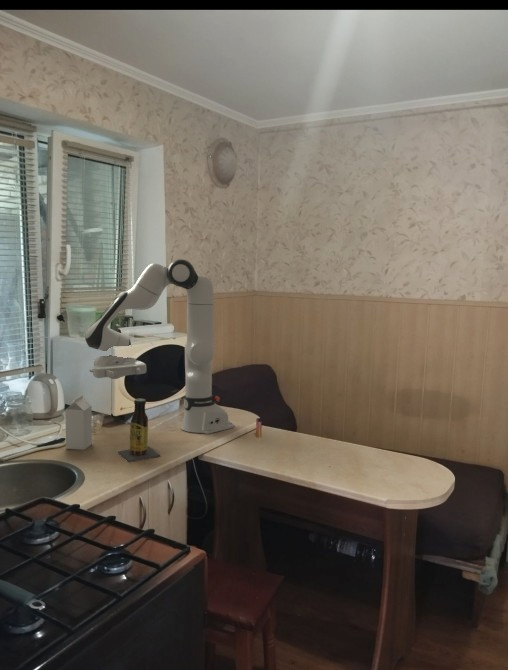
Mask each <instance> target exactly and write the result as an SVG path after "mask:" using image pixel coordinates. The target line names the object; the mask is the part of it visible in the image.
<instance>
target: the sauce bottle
mask: <svg viewBox="0 0 508 670" xmlns="http://www.w3.org/2000/svg"><path fill="white" fill-rule="evenodd" d="M133 403H134V409H133V410H134V411H133V414H132V417H131V419H130V424H129V425H130V427H129V430H130V431H129V449H130V453H131V454H133V455H142V454H145V453H146V452H147V446H148V435H149V434H148V433H149V418H148V417H149V416H148V415H147V413H146V404H147V399H145V398H140V397H139V398H135V399H134V401H133Z"/></svg>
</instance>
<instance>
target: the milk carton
mask: <svg viewBox="0 0 508 670" xmlns="http://www.w3.org/2000/svg"><path fill="white" fill-rule="evenodd" d="M69 404H70V405H69V406H68V407H67V408H65V410H64V411H65V449H66V450H80V451H82V450H83V451H86V449H88V448H89V447H90V446H91V445H92V443H93V438H92V437H93V435H92V434H93V432H92V431H93V427H92V426H93V423H92V417H93V416H92V412H93V411H92V405H91V404H90V403H89V402H88V401H87V400H86V399H84V396H83V394H81V395H80V396H77V397H76V398H75V399H73V400H71V401H70V402H69Z"/></svg>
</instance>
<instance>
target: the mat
mask: <svg viewBox="0 0 508 670" xmlns="http://www.w3.org/2000/svg"><path fill="white" fill-rule="evenodd" d="M117 455H121V456H120V457H121V458H123V459H124V460H125V459H126V460H127V461H126V460H125V461H126V462H128V463H133V462H136V461H137V460H138V461H142V460H143V459H144V460H148V459H154V458H160V457H161V454H160V453H159V452H158V451H156V450H155V449H153V448H152V447H150V446H149V445H147V452H146V453H145V454H142V455H133V454H131V453H130V448H128V449H122V450H117ZM144 460H143V461H144ZM132 461H133V462H132ZM138 461H137V462H138Z"/></svg>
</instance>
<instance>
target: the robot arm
mask: <svg viewBox="0 0 508 670" xmlns="http://www.w3.org/2000/svg"><path fill="white" fill-rule="evenodd" d="M170 285H174V286H175V287H179V288H183V289H185V291H186V295H187V296H186V297H187V298H186V300H187V301H186V342H185V344H184V369H185V372H184V373H185V387H184V389H185V395H184V398H183V407H184V411H183V420H182V423H181V426H180V428H181V430H183V431H185V432H188V433H197V434H198V433H199V434H206V435H207V434H208V435H209V434H213V433H216V432H220V431H225V430H228V429H233V428H234V423H233V422H231V421H230V420H229V416H228V412H227V411H226V410H225V409H223V408H222V407H221V406H220V405H218V404H217V403H216V402H218V403H219V402H220V397H219V396H218V395H213V394H212V393H213V390H212V389H213V388H212V387H213V386H212V385H213V376H212V375H213V373H212V360H213V359H214V356H215V340H214V339H215V332H214V331H215V330H214V329H215V328H214V314H215V312H214V310H215V305H214V304H215V296H214V295H215V294H214V293H215V292H214V287H213V282H212V280H211V279H209V278H207V277H205V276H200V275H198V274H197V272H196V270H195V268H194V266H193V264H192V263H191V262H190V261H188V260H186V259H183V258H178V259H175V260H173V261H172V262H171V263H170V264H169V265H166V266H163V265H161V264H159V263H151V264H148V265H147V267H146V268H145V269H144V270H143V272H142V273H141V274H140V276H139V277H138V279H137V280H136V281H135V283H134V285H133V286H132V287H130V288H129V289H128V290H126V291H121V292H120V293H119V294H118V295H117V296H116V297H115V298H114V299H113V300H112V301H111V303H110V304H109V305H108V307H107V308H106V309H105V310H104V311H103V312H102V314H101V315H100V316H99V317H98V318H97V319H96V321H94V322H93V323H92V324H91V326H90V327H89V328H88V329H87V331H86V333H85V336H84V340H85V342H86V344H87V347H89V348H91V349H95V350H98V351H100V352H102V351H107V350H108V349H109V348H111V347H113V346H129V345H131V346H132V342H131V338H130V337H129V336H127V335H126V334H123V333H121V332H119V331H116V330H114V329H112V328H109V326H110V324H111V323H112V322H113V321H114V319H115V318H117V316H118V314H119V313H120V312H123V311H124V310H139V311H143V310H149V309H151V308H152V307H154V306H155V305H156V303H157V302H158V301H159V299H160V297H161V295H162V293H163V292H164V290H165V289H166V287H167V286H170ZM89 372H90V373H92V375H93V377H94V378H96V379H101V378H109V379H111V380H118V379H120V378H124V377H127V376H133V375H143V374H146V373H147V364H146V363H145V362H143V361H140V360H137V358H136V357H127V358H123V357H117V356H112V355H109V356H99V357H97V358H96V359H95V361H94V363H93V366H92V368H89Z"/></svg>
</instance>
